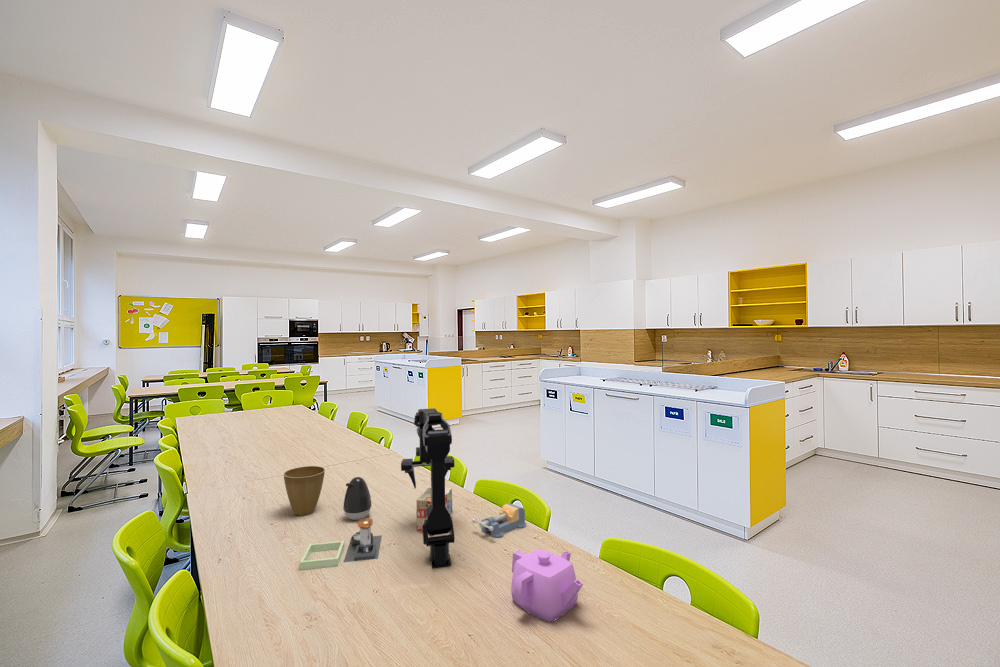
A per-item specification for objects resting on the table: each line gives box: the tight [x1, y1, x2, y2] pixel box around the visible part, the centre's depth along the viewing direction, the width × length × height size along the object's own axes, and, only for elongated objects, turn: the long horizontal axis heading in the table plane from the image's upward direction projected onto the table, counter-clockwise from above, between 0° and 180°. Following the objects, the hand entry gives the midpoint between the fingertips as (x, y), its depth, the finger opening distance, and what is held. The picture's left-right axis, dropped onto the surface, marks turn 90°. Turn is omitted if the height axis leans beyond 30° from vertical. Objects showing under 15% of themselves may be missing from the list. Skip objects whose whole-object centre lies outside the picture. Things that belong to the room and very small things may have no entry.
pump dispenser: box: [342, 476, 372, 521], centre depth 169 cm, size 10×10×15 cm
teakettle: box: [510, 548, 584, 623], centre depth 114 cm, size 17×17×12 cm
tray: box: [299, 540, 345, 571], centre depth 136 cm, size 12×11×3 cm
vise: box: [471, 502, 527, 539], centre depth 157 cm, size 18×10×7 cm, turn 132°
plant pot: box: [283, 465, 326, 516], centre depth 175 cm, size 15×15×16 cm
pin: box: [357, 517, 374, 553], centre depth 139 cm, size 4×4×10 cm
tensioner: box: [343, 531, 383, 563], centre depth 142 cm, size 16×10×4 cm, turn 11°
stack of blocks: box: [415, 487, 453, 537], centre depth 163 cm, size 21×6×12 cm, turn 168°
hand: (428, 487), depth 160 cm, fingers open, 9 cm apart
